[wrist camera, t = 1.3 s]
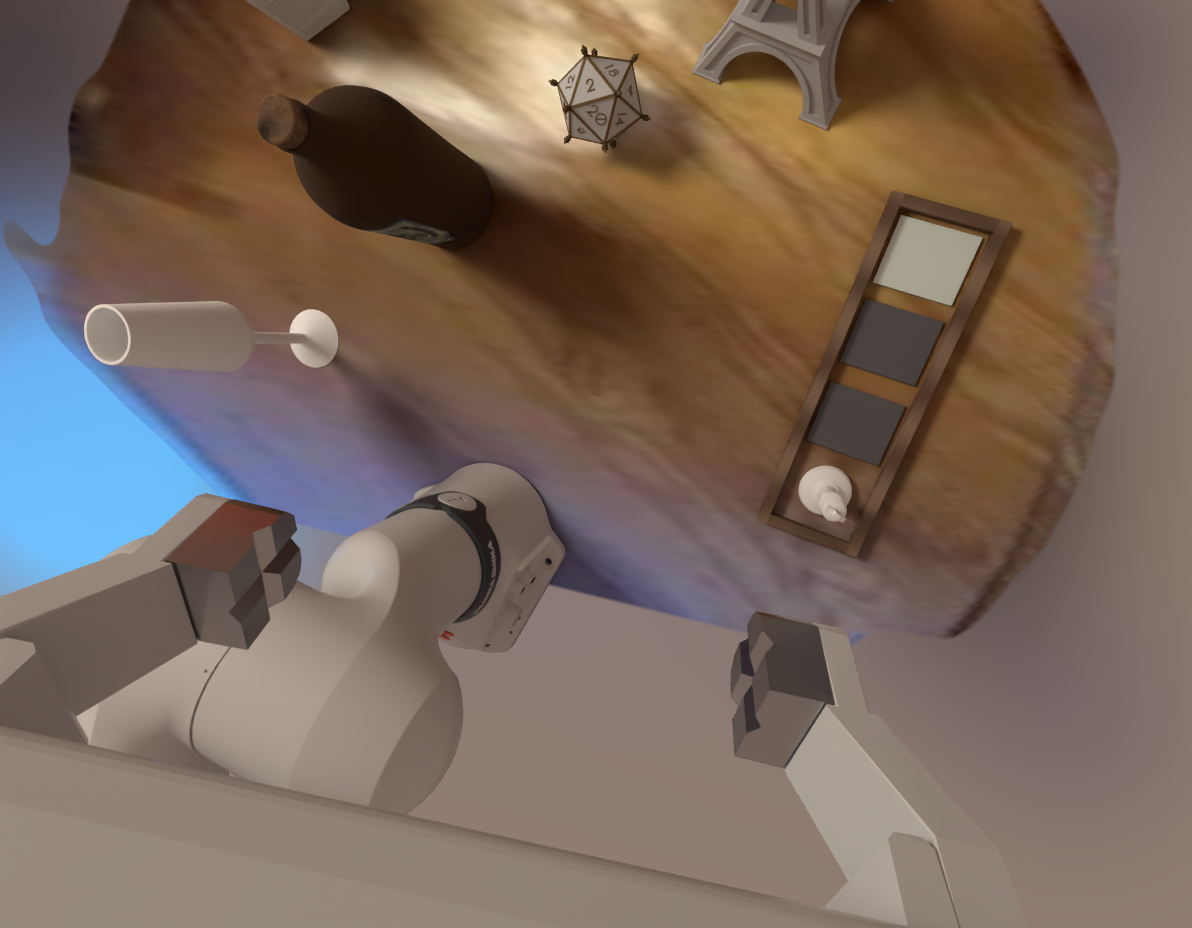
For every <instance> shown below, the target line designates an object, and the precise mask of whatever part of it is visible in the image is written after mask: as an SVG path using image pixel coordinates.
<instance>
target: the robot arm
mask: <svg viewBox="0 0 1192 928" xmlns="http://www.w3.org/2000/svg"><path fill="white" fill-rule="evenodd" d="M296 530H297V527H296V522H295V518H294V515H292V514H290V513H288V512H285V511H281V510H277V509H272V508H268V507H264V506H260V505H256V504H251V503H247V502H243V501H239V500H235V499H233V500H232V499H228V498H224V497H220V496H215V495H211V494H207V493H205V494H203V495H199V496H196V497H195V498H194V499H193V500H191V501H190V502H189V503H188V504H187V505H186V506H185V507H184V508H182V509H181V510H180V511H179V512H178V513H177V514H176V515H175V516H174V517H172V518H171V519H170V520H169V521H168V522H167V523H166V524H164V525H163V526H162V527H161V528H160V529H159V530H158V531H157V532H155V533H154V534H153V535H149V536H146V537H142V538H140V539H137V540H134V541H132V542H130V543H127V544H126V545H123V546H121V547H120V548H118V549H116V550H114V551H113V552H111V553H110V554H108V555H107V556H105V557H104V558H103V559H101V560H100V561H98V562H95V563H92V564H89V565H87V566H84V567H81V568H78V569H76V570H73V571H70V572H67V573H64V574H62V575H59V576H57V577H54V578H51V579H48V580H45V581H42V582H40V583H37V584H34V585H32V586H29V587H26V588H23V589H20V590H18V591H15V592H12V593H9V594H7V595H4V596H1V597H0V928H1028V927H1027V924H1026V921H1025V919H1024V916H1023V913H1022V911H1021V908H1020V905H1019V903H1018V900H1017V898H1016V895H1015V892H1014V889H1013V887H1012V884H1011V881H1010V879H1009V876H1008V874H1007V871H1006V868H1005V866H1004V863H1003V860H1002V858H1001V855H1000V853H999V851H998V850H997V849H996V848H995V847H994V846H993V844H992V843H991V842H990V841H989V840H988V839H987V838H986V837H985V835H984V834H983V833H982V832H981V831H980V830H979V829H978V828H977V827H976V825H975V824H974V823H973V822H972V821H971V820H970V818H968V816H967V815H966V814H965V813H964V812H963V811H962V809H961V808H960V807H959V806H958V805H957V804H956V803H955V801H954V800H953V799H952V798H951V797H950V796H949V795H948V794H947V793H946V791H945V790H944V789H943V788H942V787H941V786H940V785H939V784H938V782H937V781H936V780H935V779H934V778H933V777H932V776H931V774H930V773H929V772H928V771H927V770H926V769H925V768H924V766H923V765H922V764H921V763H920V762H919V761H918V760H917V759H916V758H915V756H914V755H913V754H912V753H911V752H910V751H909V749H907V747H906V746H905V745H904V744H903V743H902V742H901V740H900V739H899V738H898V737H897V736H896V735H895V734H894V733H893V731H892V730H891V729H890V728H889V727H888V726H887V725H886V724H885V722H884V721H883V720H882V719H881V718H880V717H879V716H878V715H875V714H870V713H869V710H868V706H867V703H866V699H865V695H864V692H863V688H862V684H861V680H860V677H859V673H858V669H857V665H856V662H855V658H854V655H853V651H852V647H851V643H850V640H849V636H848V634H847V632H846V631H845V630H844V629H841V628H836V627H831V626H826V625H821V624H817V623H814V624H813V623H811V622H806V621H802V620H797V619H792V618H787V617H782V616H777V615H772V614H767V613H762V612H757V611H756V612H755V613H754V614H753V615H752V617H751V619H750V621H749V623H748V625H747V629H748V639H746V640H744V641H742V642H740V643H739V645H738V648H737V650H736V653H735V655H734V660H733V665H732V669H731V697H732V698H733V700H734V701H735V702H736V704H737V705H738V709H737V711H736V713H735V715H734V717H733V719H732V722H733V738H734V752H735V756H736V757H740V758H744V759H748V760H753V761H757V762H761V763H765V764H769V765H773V766H777V767H781V768H785V770H784V771H785V773H786V775H787V776H788V778H789V780H790V782H791V784H792V785H793V787H794V789H795V790H796V792H797V794H798V795H799V797H800V798H801V800H802V802H803V804H804V806H805V808H806V809H807V811H808V813H809V814H810V816H811V818H812V819H813V821H814V823H815V825H816V826H817V828H818V830H819V831H820V833H821V835H822V837H823V838H824V840H825V842H826V843H827V845H828V847H829V849H830V850H831V852H832V854H833V856H834V857H835V859H836V861H837V862H838V864H839V866H840V868H841V869H842V871H843V873H844V875H845V876H846V878H847V880H848V882H847V883H846V884H845V885H844V886H843V887H842V888H841V889H840V890H839V892H838V893H837V894H836V895H835V896H834V897H833V898H832V899H831V900H830V901H829V902H828V904H827V905H826V906H825V907H819V906H815V905H810V904H806V903H801V902H797V901H792V900H787V899H783V898H778V897H774V896H769V895H765V894H760V893H756V892H751V891H747V890H742V889H738V888H733V887H729V886H724V885H720V884H715V883H710V882H706V881H702V880H697V879H693V878H688V877H684V876H679V875H675V874H670V873H666V872H660V871H657V870H652V869H648V868H643V867H639V866H634V865H629V864H625V863H621V862H616V861H612V860H607V859H602V858H598V857H594V856H589V855H585V854H580V853H575V852H571V851H567V850H562V849H557V848H553V847H548V846H544V845H539V844H534V843H530V842H526V841H521V840H517V839H512V838H508V837H503V836H499V835H494V834H490V833H485V832H481V831H476V830H471V829H467V828H463V827H458V826H454V825H449V824H445V823H440V822H436V821H431V820H427V819H422V818H418V817H413V816H409V815H406V814H408V813H409V812H411V811H412V810H413V809H414V808H416V807H417V806H418V805H419V804H421V803H422V802H423V801H424V800H425V799H426V798H427V797H428V796H429V795H430V794H431V793H432V791H433V790H434V789H435V788H436V786H437V785H438V784H439V782H440V781H441V780H442V778H443V777H444V775H445V773H446V772H447V770H448V768H449V766H450V764H451V762H452V760H453V758H454V756H455V753H456V750H457V747H458V744H459V741H460V736H461V731H462V725H463V700H462V693H461V688H460V685H459V681H458V678H457V676H456V675H455V674H454V672H453V671H452V670H451V668H450V667H449V666H448V664H447V662H446V661H445V659H444V657H443V655H442V653H441V651H440V648H439V644H438V640H439V641H442V642H444V643H447V644H449V645H452V646H456V647H460V648H465V649H475V650H479V651H484V652H504V651H507V650H509V649H510V648H511V647H512V646H513V645H514V643H515V641H516V640H517V638H518V636H519V635H520V633H521V631H522V630H523V628H524V626H525V624H526V623H527V621H528V619H529V618H530V616H531V614H532V612H533V611H534V609H535V607H536V606H537V604H538V602H539V600H540V599H541V597H542V595H543V594H544V592H545V590H546V588H547V587H548V585H549V583H550V582H551V580H552V578H553V576H554V575H555V573H556V571H557V570H558V568H559V566H560V565H561V563H562V561H563V559H564V557H565V554H566V552H565V548H564V546H563V544H562V542H561V541H560V539H559V538H558V537H557V535H556V534H555V533H554V531H553V530H552V528H551V526H550V523H549V519H548V516H547V512H546V509H545V506H544V504H543V502H542V500H541V498H540V496H539V495H538V493H537V492H536V490H535V489H534V488H533V487H532V485H531V484H530V483H529V482H528V481H527V480H526V479H524V478H523V477H522V476H521V475H519V474H518V473H516V472H515V471H513V470H511V469H509V468H506V467H504V466H501V465H497V464H491V463H477V464H471V465H468V466H465V467H463V468H461V469H459V470H457V471H455V472H454V473H453V474H451V475H450V476H449V477H448V478H446V479H445V480H444V481H442V482H441V483H439V484H434V485H430V486H427V487H424V488H422V489H421V490H419V491H418V492H416V494H415V496H414V500H412V501H411V502H409V503H408V504H404V505H402V506H400V507H399V508H397V509H396V510H395V511H394V512H392V513H391V514H390V515H388V516H387V517H386V518H385V519H384V520H383V521H381V522H379V523H377V524H374V525H372V526H370V527H368V528H366V529H363V530H361V531H359V532H357V533H355V534H353V535H351V536H350V537H348V538H347V539H345V540H344V541H343V542H342V543H341V544H340V545H339V547H338V548H337V549H336V550H335V552H334V553H333V554H332V556H331V558H330V559H329V561H328V563H327V565H326V568H325V570H324V574H323V579H322V591H321V590H318V589H313V588H311V587H309V586H307V585H305V584H303V583H302V582H300V581H298V580H297V578H298V576H299V573H300V569H301V552H300V548H299V547H298V546H297V545H296V544H295V542H294V541H293V540H292V539H291V536H292V535H293V534H294V533H295V532H296ZM547 558H549V559H551V561H552V564H550V563H548V562H547ZM488 642H489V643H490V645H489V644H487V643H488ZM229 772H231V773H232V774H234V775H236V776H237V777H239V778H237V777H233V776H229Z"/></svg>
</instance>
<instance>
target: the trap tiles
mask: <svg viewBox="0 0 1192 928" xmlns="http://www.w3.org/2000/svg"><path fill="white" fill-rule="evenodd" d="M943 323H944V322H941V321H938V320H934V319H931V318H928V317H925V316H921V315H918V314H915V313H912V312H908V311H905V310H902V309H899V308H895V307H892V306H889V305H886V304H882V303H879V302H876V301H873V300H869V299H865V301H864V304H863V306H862V309H861V311H860V313H859V316H858V318H857V320H856V323H855V325H854V327H853V330H852V332H851V335H850V337H849V339H848V342H847V344H846V346H845V349H844V351H843V354H842V356H841V358H840V362H843V363H846V364H849V365H852V366H855V367H858V368H861V369H864V370H867V371H870V372H873V373H876V374H879V375H882V376H885V377H888V378H891V379H894V380H897V381H900V382H904V383H907V384H910V385H913V386H915V384H916V382H917V380H918V378H919V376H920V373H921V371H922V369H923V367H924V365H925V363H926V360H927V358H928V356H929V354H930V352H931V349H932V347H933V345H934V343H935V341H936V339H937V336H938V334H939V332H940V330H941V328H942V325H943ZM904 408H905V406H902V405H899V404H896V403H893V402H890V401H887V400H884V399H881V398H878V397H875V396H872V395H869V394H866V393H863V392H860V391H857V390H854V389H851V388H848V387H845V386H842V385H839V384H836V383H833V382H830V384H829V387H828V389H827V392H826V394H825V396H824V399H823V401H822V403H821V406H820V408H819V411H818V413H817V415H816V418H815V420H814V422H813V425H812V427H811V430H810V432H809V434H808V437H807V439H806V441H809V442H812V443H815V444H818V445H821V446H823V447H826V448H829V449H832V450H835V451H837V452H840V453H843V454H846V455H849V456H852V457H854V458H857V459H860V460H863V461H866V462H869V463H871V464H874V465H877V466H878V465H879V463H880V461H881V458H882V456H883V454H884V452H885V450H886V448H887V445H888V443H889V441H890V439H891V437H892V434H893V432H894V430H895V428H896V426H897V424H898V421H899V419H900V417H901V415H902V413H903V410H904Z"/></svg>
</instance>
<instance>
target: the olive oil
mask: <svg viewBox="0 0 1192 928" xmlns="http://www.w3.org/2000/svg"><path fill="white" fill-rule="evenodd" d="M256 123H257V128H258V130H259V132H260V134H261V136H262V137H263V138H264V139H265V140H266V141H267V142H269V143H271V144H273V145H276V146H278V147H279V148H280V149H281V150H283V151H285V152H289V153H291V154H293V157H294V163H295V167H296V171H297V174H298V176H299V179H300V181H301V183H302V185H303V187H304V188H305V190H306V192H307V193H308V195H309V196H310V197H311V198H312V200H313V201H314V202H315V203H316V204H317V205H318V206H319V207H320V208H321V209H323V210H324V211H325V212H326V213H327V214H329V215H330V216H331V217H333V218H334V219H336V220H338V221H339V222H341V223H343V224H346V225H348V226H351V227H353V228H356V229H360V230H365V231H370V232H375V233H381V234H386V235H390V236H395V237H400V238H404V239H409V240H414V241H418V242H422V243H426V244H431V245H435V246H439V247H443V248H459V247H463V246H465V245H468V244H470V243H471V242H473V241H474V240H475V239H476V238H478V237H479V235H480V234H481V233H482V232H483V230H484V229H485V227H486V225H487V223H488V221H489V218H490V215H491V211H492V191H491V187H490V183H489V181H488V178H487V176H486V175H485V173H484V171H483V170H482V169H481V167H480V166H479V165H478V164H477V163H476V162H474V161H473V160H472V159H471V158H469V157H468V156H467V155H465V154H464V153H462V152H461V151H460V150H458V149H457V148H456V147H454V146H453V145H452V144H450V143H449V142H448V141H446V140H445V139H444V138H443V137H441V136H440V135H439V134H437V133H436V132H435V131H434V130H432V129H431V128H430V127H429V126H427V125H426V124H425V123H424V122H422V121H421V120H420V119H419V118H417V117H416V116H415V115H414V114H413V113H411V112H410V111H409V110H408V109H406V108H405V107H404V106H403V105H401V104H400V103H399V102H398V101H396V100H395V99H393V98H392V97H390V96H389V95H387V94H385V93H383V92H380V91H378V90H375V89H372V88H368V87H362V86H353V85H345V86H337V87H334V88H330V89H328V90H326V91H324V92H322V93H320V94H319V95H317V96H316V97H315V98H313V99H312V100H311V101H310V102H309V103H308V105H307V106H306V105H304V104H303V103H301V102H299V101H298V100H295V99H290V98H288V97H286V96H284V95H282V94H278V93H272V94H269V95H267V96H266V97H264V98H263V99H262V101H261V102H260V104H259V106H258V108H257V113H256Z"/></svg>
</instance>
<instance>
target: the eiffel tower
mask: <svg viewBox="0 0 1192 928" xmlns="http://www.w3.org/2000/svg"><path fill="white" fill-rule="evenodd" d="M775 1H776V0H739V2H738V4H737V5H736V7H735V9H734V10H733V12H732V14H731V15H730V17H729V18H728V20H727V21H726V23H725V24H724V25H723V27H722V28H721V29H720V31H719V32H718V33H717V34H716V36H715V37H714V38H713V39H712V40H711V41H710V42H709V43H708V42H706V43H705V45H704V47H703V49H702V52H701V54H700V56H699V58H698V60H697V63H696V65H695V67H694V69H693V72H692V73H693V74H696V75H698V76H700V77H703V78H705V79H707V80H710V81H712V82H714V83H717V84H719V82H720V80H721V78H722V76H723V74H724V71H725V69H726V67H727V65H728V63H729V61H730V60H732V59H733V58H735V57H736V56H738V55H740V54H743V53H746V52H754V51H756V52H765V53H768V54H771V55H773V56H775V57H777V58H779V59H780V60H782V61H783V62H784V63H785V64H786V65H787V66H788V67H789V68H790V69H791V70H792V71H793V73H794V74H795V76H796V78H797V79H798V82H799V84H800V87H801V90H802V95H803V110H802V112H801V114H800V116H799V119H801V120H803V121H805V122H808V123H810V124H812V125H815V126H817V127H819V128H822V129H824V130H826V129H827V127H828V125H829V123H830V122H831V120H832V118H833V116H834V114H835V112H836V110H837V108H838V106H839V104H840V102H841V100H842V98H839V97H838V95H837V92H836V87H835V61H836V54H837V49H838V45H839V41H840V38H841V35H842V32H843V29H844V27H845V25H846V22H847V20H848V18H849V16H850V14H851V13H852V11H853V9H854V8H855V7H856V5H857V4H858V3H859V1H860V0H798V11H795V10H793V9H791V8H788V7H786V6H783V5H781V4H778V3H776V2H775ZM887 1H889V2H893V0H887Z"/></svg>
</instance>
